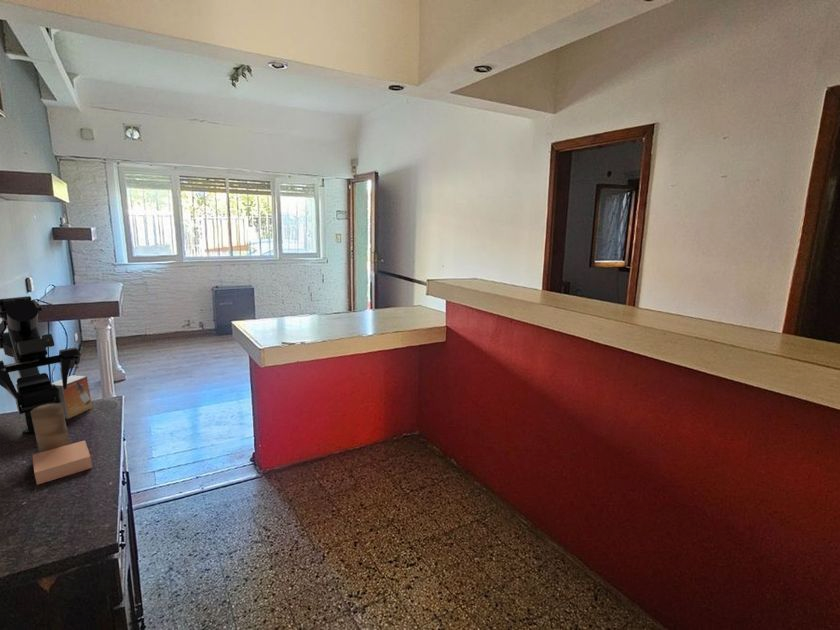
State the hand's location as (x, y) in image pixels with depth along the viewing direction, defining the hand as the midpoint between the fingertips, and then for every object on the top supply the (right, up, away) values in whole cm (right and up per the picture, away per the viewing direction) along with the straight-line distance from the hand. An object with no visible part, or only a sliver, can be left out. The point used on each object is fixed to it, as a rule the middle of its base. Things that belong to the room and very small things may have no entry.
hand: (42, 394), depth 109 cm
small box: (-10, -10, +22) cm, 26 cm away
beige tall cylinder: (+3, -15, +1) cm, 15 cm away
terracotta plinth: (+10, -16, -6) cm, 20 cm away
